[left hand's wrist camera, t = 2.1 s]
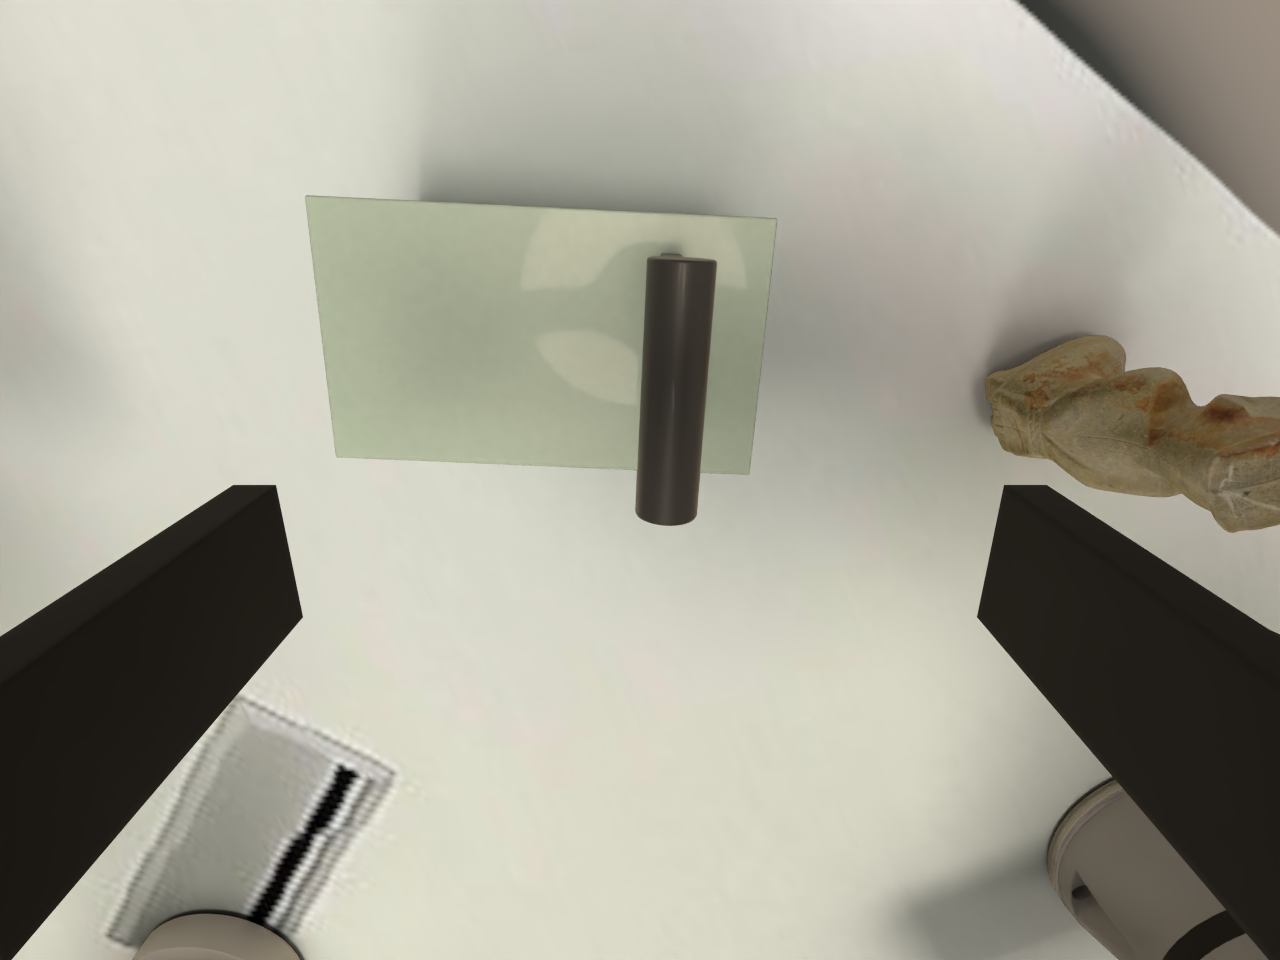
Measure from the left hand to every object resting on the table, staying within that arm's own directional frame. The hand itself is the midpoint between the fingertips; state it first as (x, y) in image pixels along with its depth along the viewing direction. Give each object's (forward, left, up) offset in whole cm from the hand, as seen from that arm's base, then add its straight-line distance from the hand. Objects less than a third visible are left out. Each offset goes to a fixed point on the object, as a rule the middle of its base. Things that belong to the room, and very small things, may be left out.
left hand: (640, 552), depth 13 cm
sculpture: (-20, -9, -25) cm, 33 cm away
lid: (+4, 0, -14) cm, 15 cm away
